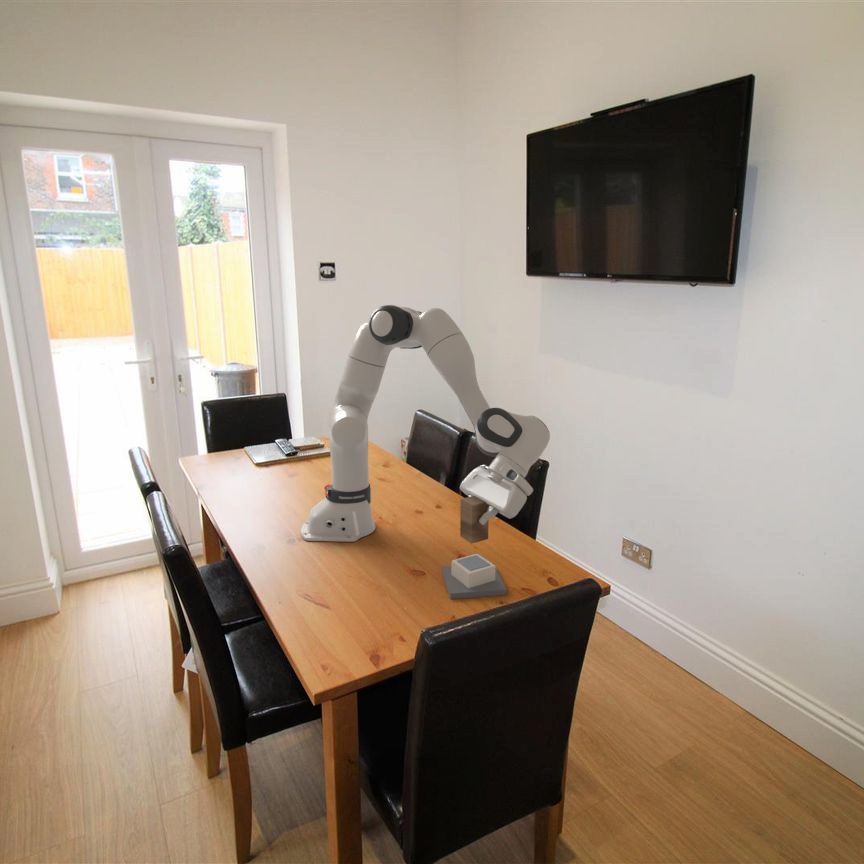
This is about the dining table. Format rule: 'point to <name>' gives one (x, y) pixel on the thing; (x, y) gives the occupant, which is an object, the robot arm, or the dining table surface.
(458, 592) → the base board
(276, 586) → the dining table surface
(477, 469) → the robot arm
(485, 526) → the walnut column
